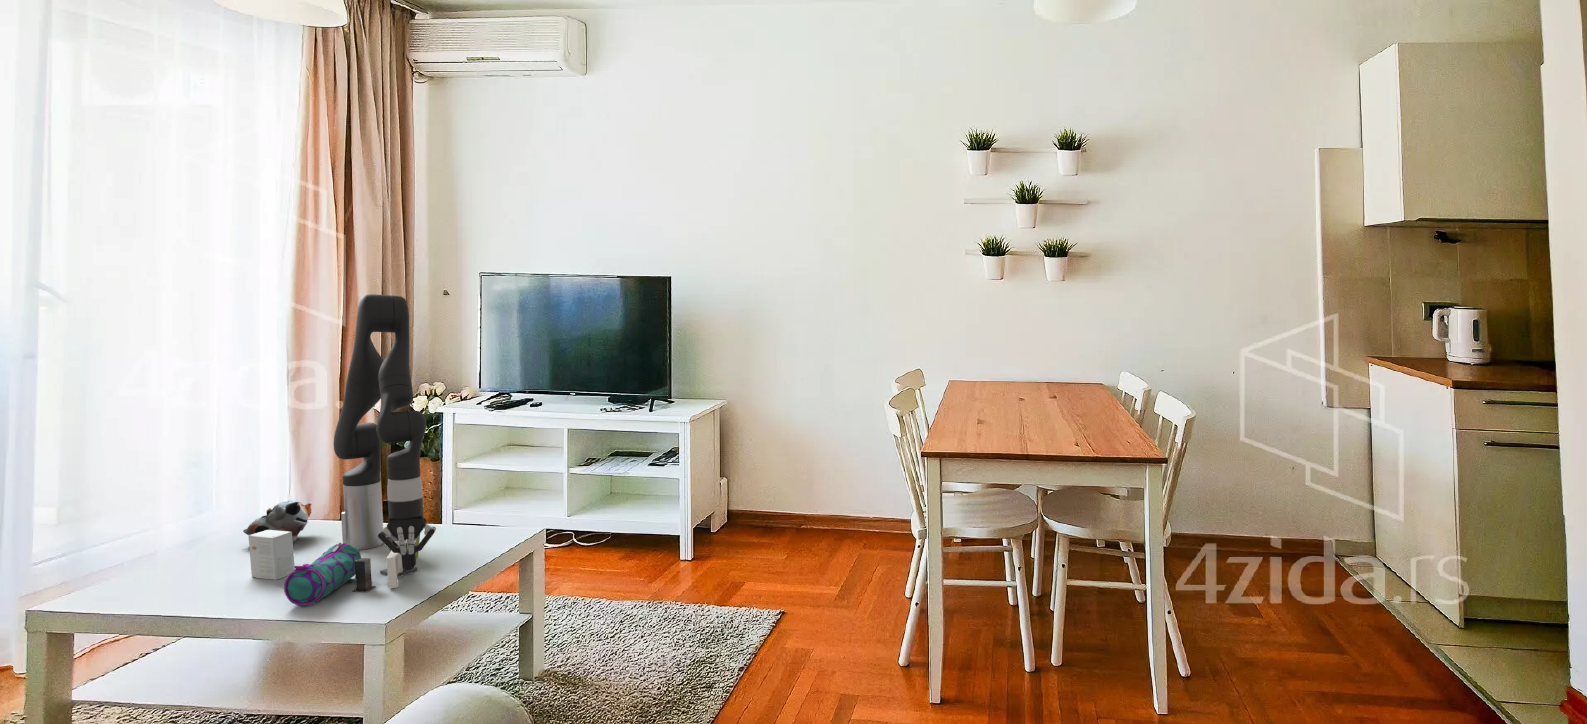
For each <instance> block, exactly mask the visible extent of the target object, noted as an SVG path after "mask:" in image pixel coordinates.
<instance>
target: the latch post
mask: <svg viewBox="0 0 1587 724" xmlns="http://www.w3.org/2000/svg"><path fill="white" fill-rule="evenodd" d="M371 560H372V559H371V557H370V558H369V557H367V558H366V557H361V558H360V559H358V560H356V561H355V575H354V577H355V588H354V589H352V591H351V592H352V593H369V592H370V591H372V590H373V589H375V588H376V587H377V585H373V582H372V581H373V580H372V562H371Z"/></svg>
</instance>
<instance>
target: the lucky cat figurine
mask: <svg viewBox="0 0 1587 724" xmlns="http://www.w3.org/2000/svg"><path fill="white" fill-rule="evenodd" d="M311 514H312V503H306V504H303V503H302V502H300V501H296V500H287V501H282V502H280V503H277V504H276V505H274V506H273V508H271V507H270V508H268V509H267V510H266V514H265V515H262V516H261V517H258V518H256V519H255V520H253V521H252V522H251V523H250V524H249V525H248V527H247V528H245V529H243V530H242V532H243V533H244V534H245V535H247V536H249V535H252V534H255V533H259V532H262V531H265V530H276V531H288V532H292V540H293V544H294V543H295V542H296V540H297V539H298V536H299V534H300V532H302V531H303V530H304V529H305V527H306V526H307V524H308V520H309V518H310V516H311Z"/></svg>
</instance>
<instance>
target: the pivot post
mask: <svg viewBox="0 0 1587 724" xmlns="http://www.w3.org/2000/svg"><path fill="white" fill-rule="evenodd" d="M389 532H390V531H389ZM390 534H391V535H390V537H391V538H392V539H393V540H394V541H399V540H398V539H396V538H395V536H394V535H393V534H392V533H391V532H390ZM402 569H403V571H402V572H401V573H398V575H397V578H400V577H402V576H403V577H404V576H406V575H410V574H412V572H413V573H416V572H418V571H419V569H418V567H416V566H415V567H413V569H412V570H405V568H403V567H402ZM379 572H380V573H379V574H380V575H383V576H387V577H388V575H387V568H385V569H382V570H380V571H379Z"/></svg>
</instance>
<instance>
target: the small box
mask: <svg viewBox="0 0 1587 724" xmlns="http://www.w3.org/2000/svg"><path fill="white" fill-rule="evenodd" d="M248 546H249V547H248V549H249V559H250V561H249V562H250V570H251V572H250V573H251V578H254V577H256V578H257V579H265V580H274V581H277V580H280V579H282V578H283V579H284V578H286V577H287V576H288V575H289V574H290V573H291V572H292V571H294V570H295V566H296V565H295V555H294V543H293V540H292V532H288V531H276V530H265V531H262V532H259V533H255V534H252V535H248ZM256 578H255V579H256Z"/></svg>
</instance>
